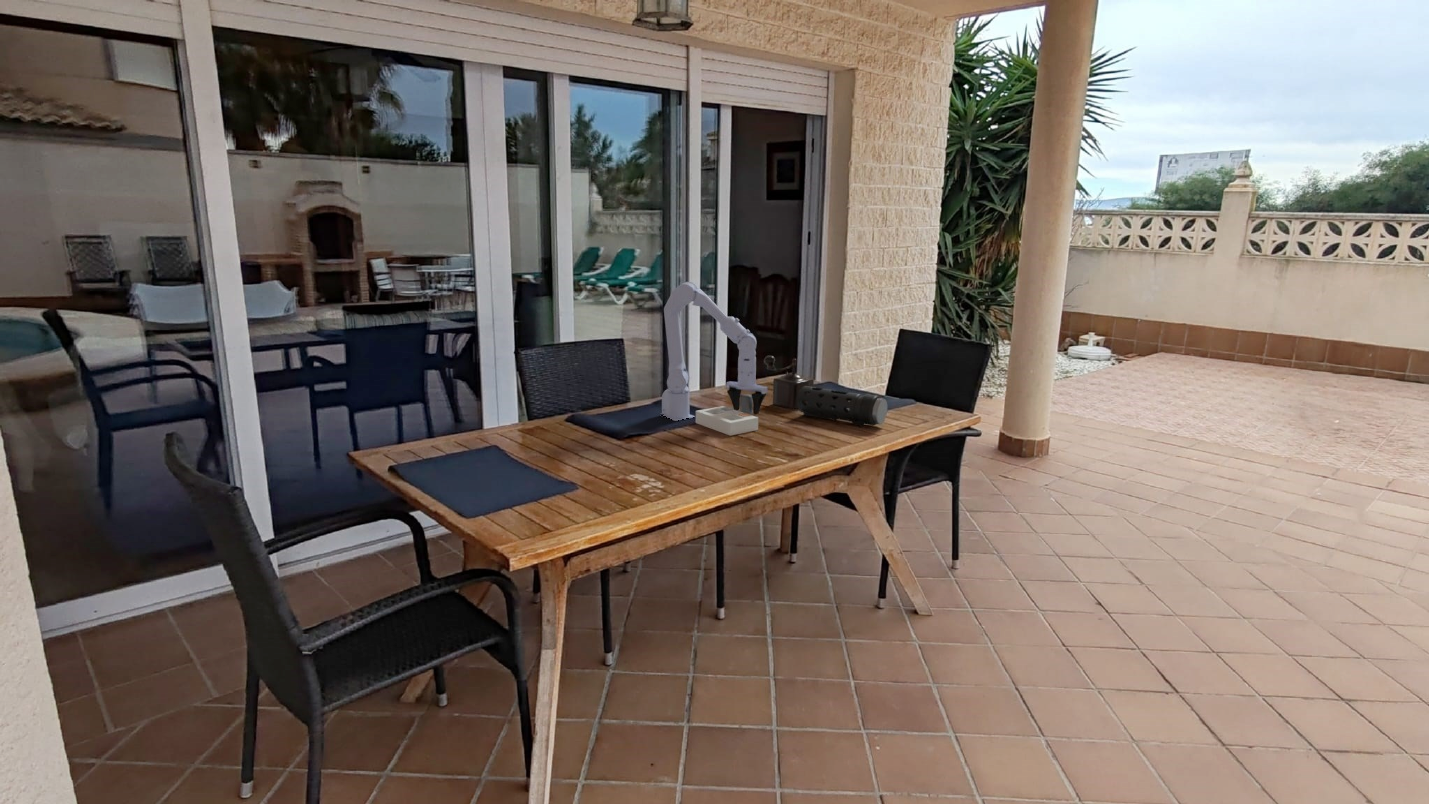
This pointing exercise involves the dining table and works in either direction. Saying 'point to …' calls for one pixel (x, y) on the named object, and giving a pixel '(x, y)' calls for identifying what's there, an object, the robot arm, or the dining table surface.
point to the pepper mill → (787, 385)
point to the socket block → (727, 420)
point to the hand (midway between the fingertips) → (746, 412)
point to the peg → (746, 403)
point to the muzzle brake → (842, 406)
